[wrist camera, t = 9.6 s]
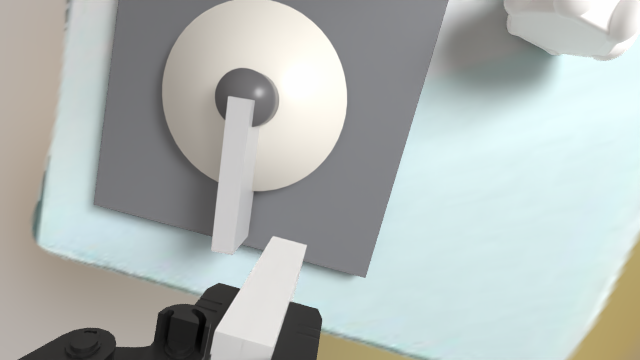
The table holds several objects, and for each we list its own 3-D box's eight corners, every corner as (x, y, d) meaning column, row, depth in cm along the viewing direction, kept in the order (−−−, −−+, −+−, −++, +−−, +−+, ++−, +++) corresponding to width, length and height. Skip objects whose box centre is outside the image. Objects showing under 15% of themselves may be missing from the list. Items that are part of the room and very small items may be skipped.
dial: (176, -12, 27) (144, -34, 23) (362, 18, 26) (365, 0, 22) (158, 218, 30) (128, 235, 26) (321, 248, 30) (317, 271, 26)
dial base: (143, -95, 28) (130, -108, 26) (451, -21, 27) (457, -29, 25) (105, 200, 32) (92, 204, 31) (364, 269, 32) (365, 278, 30)
